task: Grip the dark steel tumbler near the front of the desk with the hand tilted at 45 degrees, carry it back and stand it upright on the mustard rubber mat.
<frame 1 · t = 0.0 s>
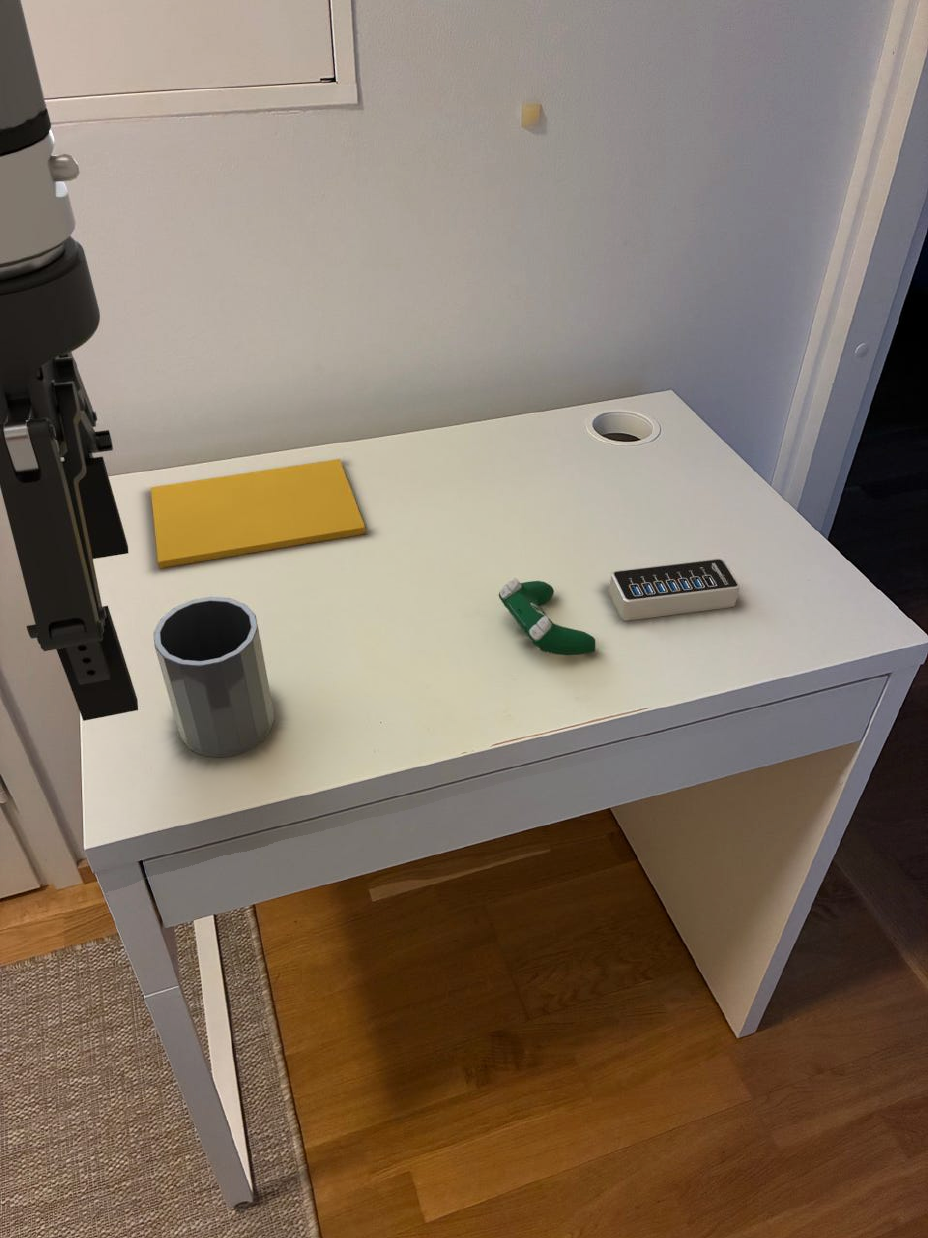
hand: (108, 625, 54), 21 cm above the table, tool pointing down, fingers open, 13 cm apart
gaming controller: (542, 633, 85), on the table
mat: (256, 513, 98), on the table
steel tumbler: (227, 721, 77), on the table
multiport hub: (671, 599, 89), on the table
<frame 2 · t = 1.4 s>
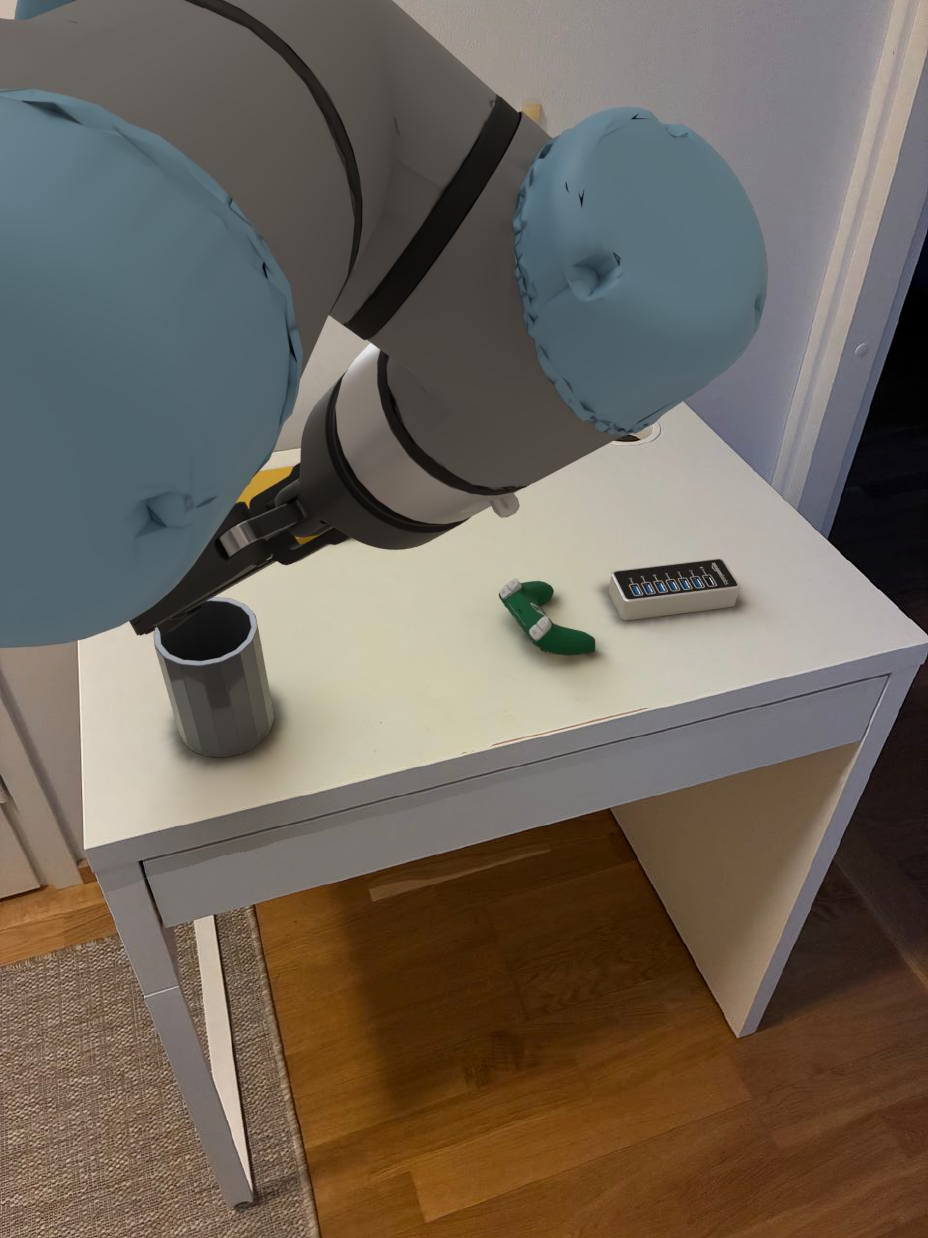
hand: (261, 560, 56), 23 cm above the table, tool tilted 45°, fingers open, 13 cm apart
nothing on the table moved.
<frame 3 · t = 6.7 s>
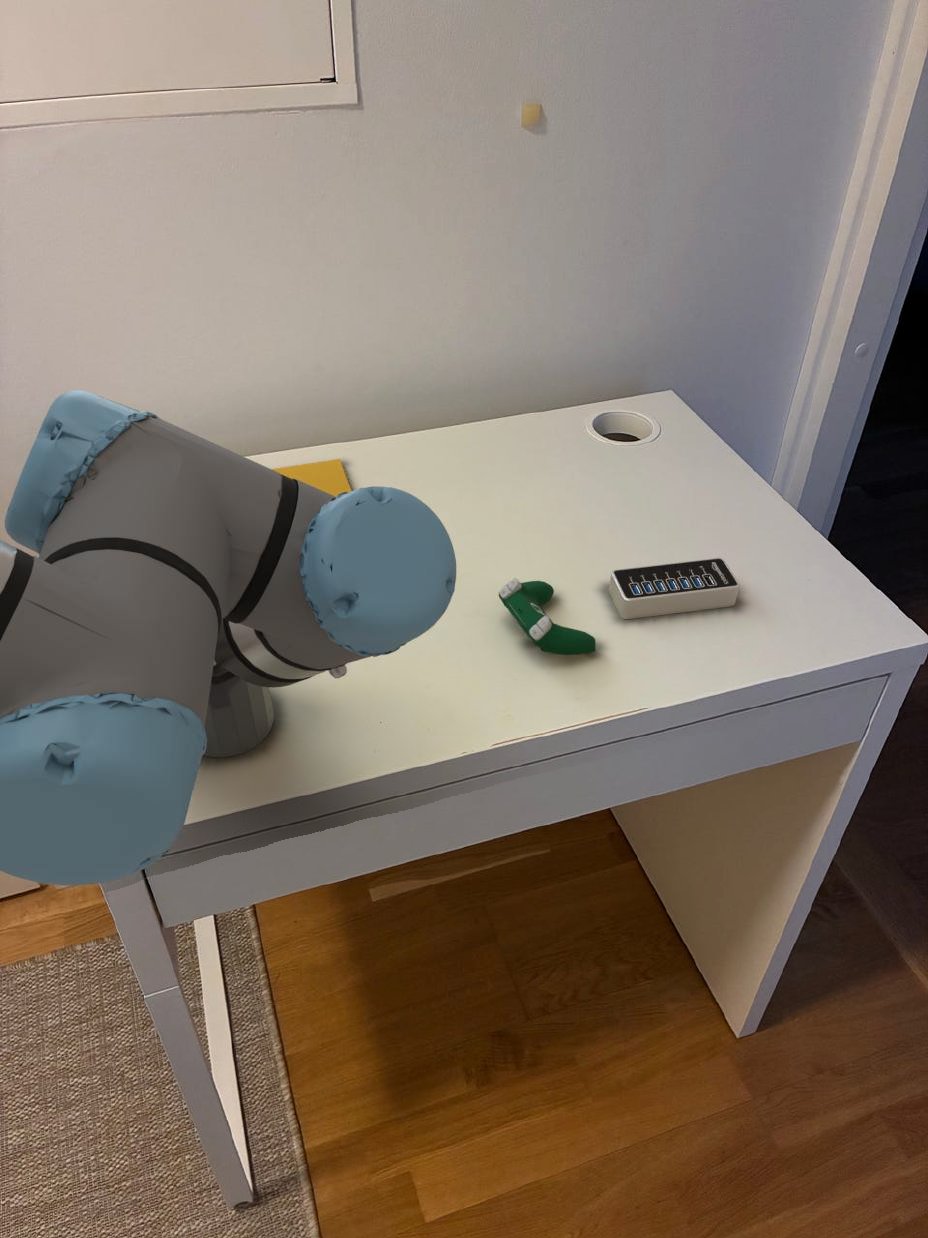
hand: (197, 667, 76), 4 cm above the table, tool tilted 45°, fingers closed on steel tumbler, 7 cm apart
steel tumbler: (227, 721, 77), on the table, touching gripper
everything else where it was.
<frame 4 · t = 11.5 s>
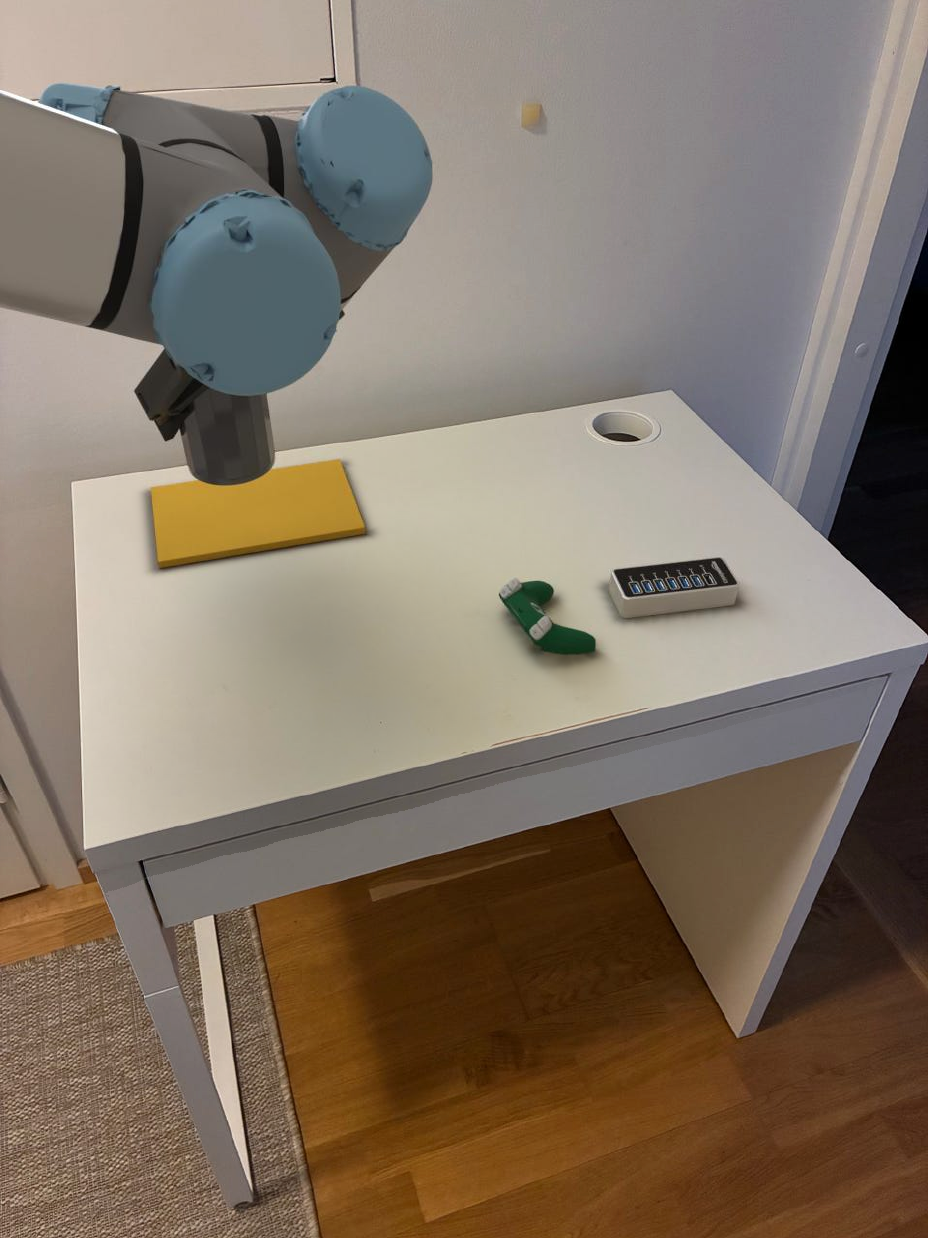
hand: (204, 409, 82), 16 cm above the table, tool tilted 45°, fingers closed on steel tumbler, 7 cm apart
steel tumbler: (232, 461, 83), point 12 cm above the table, touching gripper
everything else where it was.
when the fingers open (4 cm above the table, at t = 16.2 s): steel tumbler stays where it is, resting on mat.
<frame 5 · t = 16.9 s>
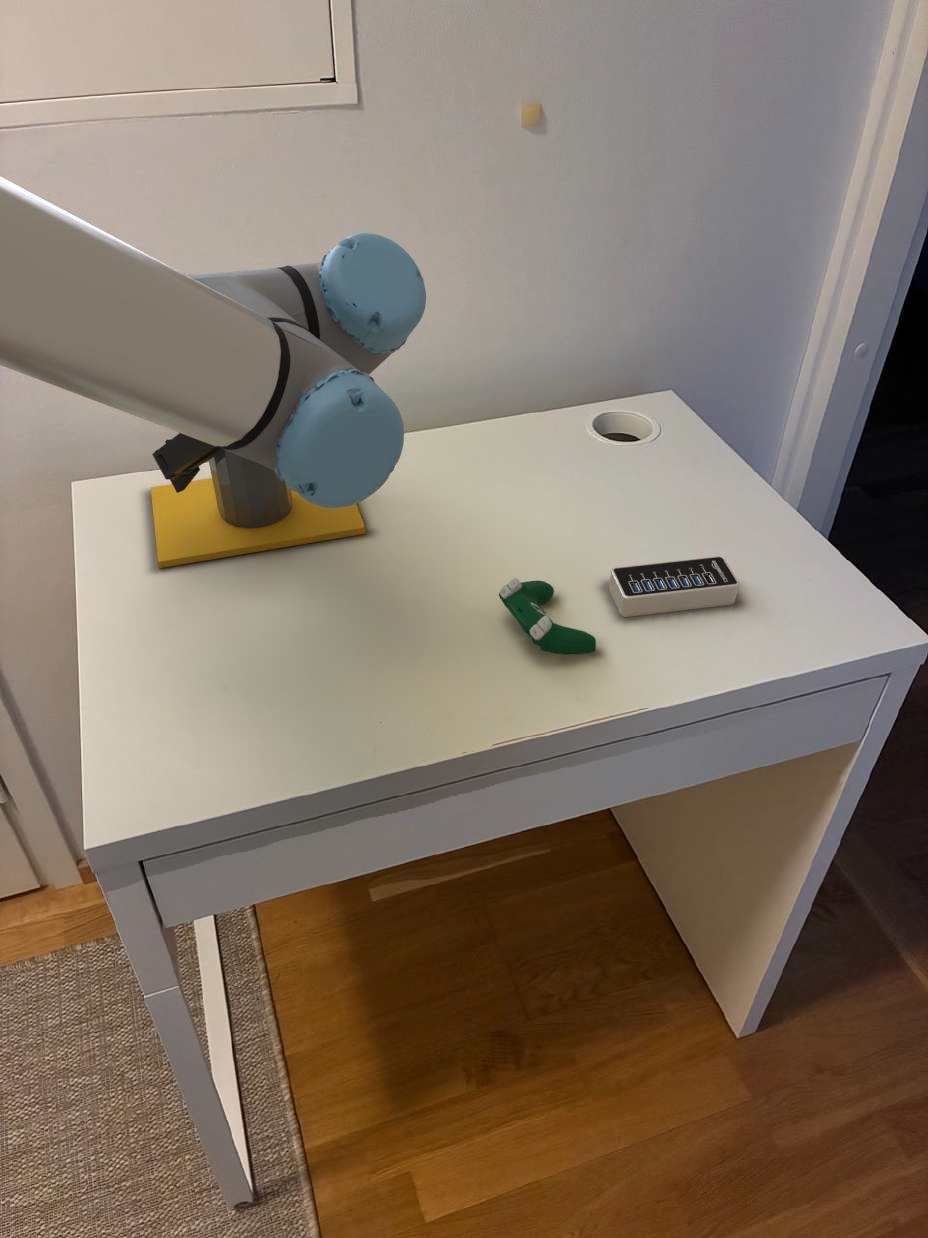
hand: (235, 454, 95), 6 cm above the table, tool tilted 45°, fingers open, 13 cm apart
steel tumbler: (255, 506, 97), point 1 cm above the table, touching mat
everything else where it was.
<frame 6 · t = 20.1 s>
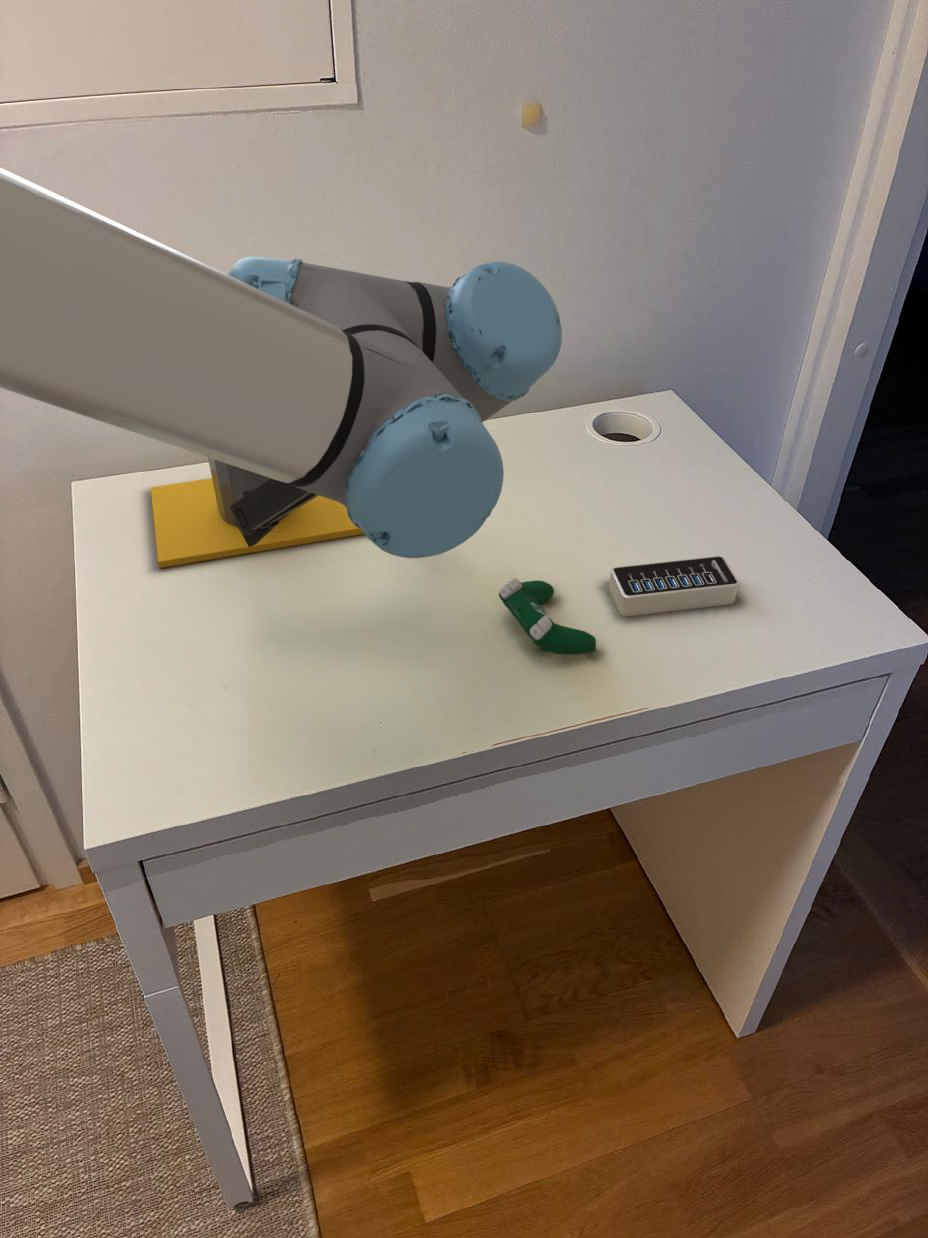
hand: (309, 503, 87), 7 cm above the table, tool tilted 45°, fingers open, 13 cm apart
nothing on the table moved.
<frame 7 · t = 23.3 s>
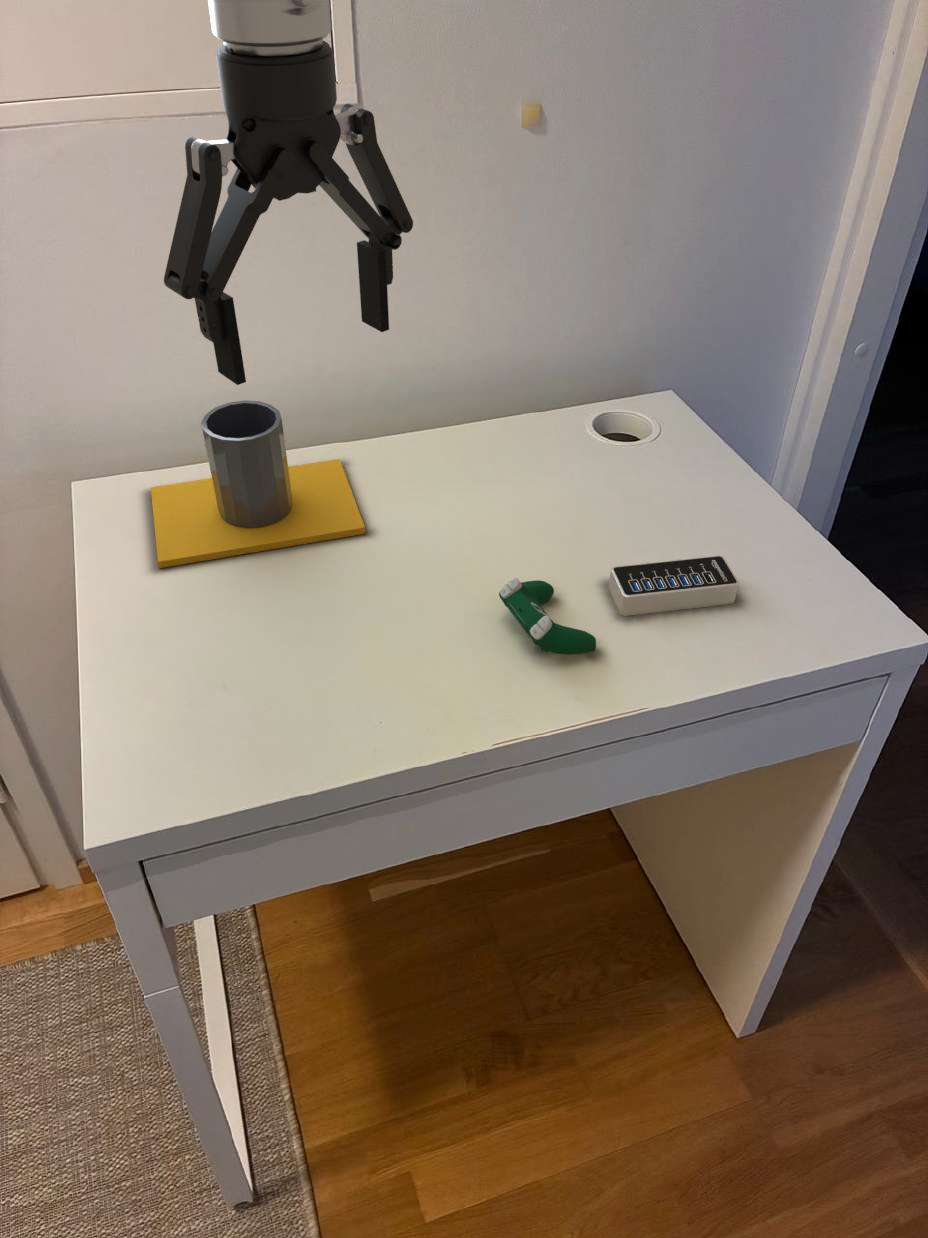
hand: (307, 350, 76), 23 cm above the table, tool pointing down, fingers open, 13 cm apart
nothing on the table moved.
at the end: steel tumbler inside the target area on the mat (0.1 cm from its centre), point 0.8 cm above the mat's base; steel tumbler tilted 0°; the gripper is holding nothing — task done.
